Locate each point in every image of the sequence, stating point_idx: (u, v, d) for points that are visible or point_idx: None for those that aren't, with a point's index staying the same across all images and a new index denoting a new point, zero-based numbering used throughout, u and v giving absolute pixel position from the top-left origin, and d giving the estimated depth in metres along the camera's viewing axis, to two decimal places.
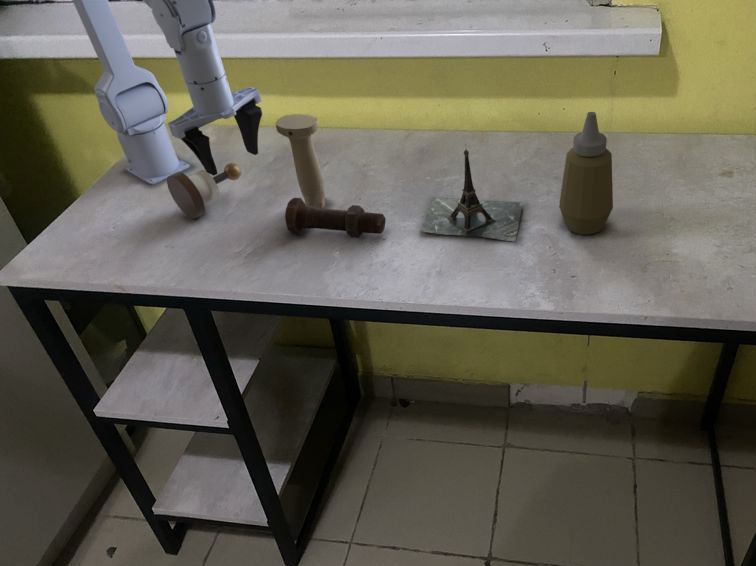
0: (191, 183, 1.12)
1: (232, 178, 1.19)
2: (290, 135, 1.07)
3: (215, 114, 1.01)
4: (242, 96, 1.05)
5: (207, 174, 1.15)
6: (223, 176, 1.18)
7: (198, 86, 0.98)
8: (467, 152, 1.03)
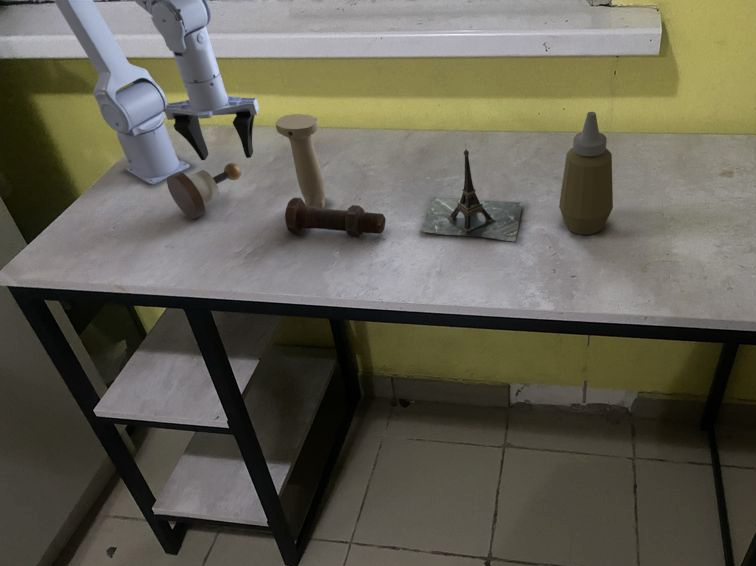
0: (191, 183, 1.12)
1: (232, 178, 1.19)
2: (290, 135, 1.07)
3: (195, 111, 1.10)
4: (237, 104, 1.11)
5: (207, 174, 1.15)
6: (223, 176, 1.18)
7: (183, 82, 1.08)
8: (467, 152, 1.03)
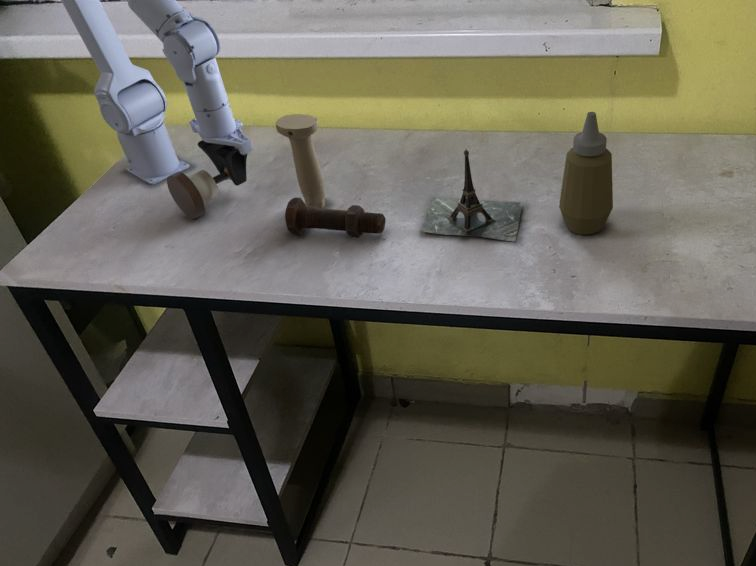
0: (191, 183, 1.12)
1: None
2: (290, 135, 1.07)
3: (238, 126, 1.15)
4: None
5: (207, 174, 1.15)
6: (223, 176, 1.18)
7: (227, 104, 1.12)
8: (467, 152, 1.03)
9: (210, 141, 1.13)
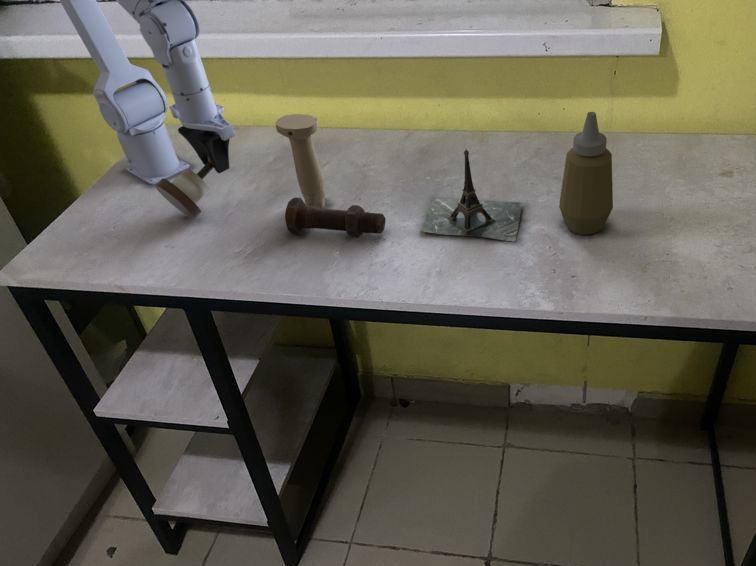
0: (178, 190, 1.11)
1: None
2: (290, 135, 1.07)
3: (219, 111, 1.12)
4: None
5: (191, 173, 1.13)
6: (208, 167, 1.16)
7: (208, 88, 1.08)
8: (467, 152, 1.03)
9: (190, 126, 1.09)
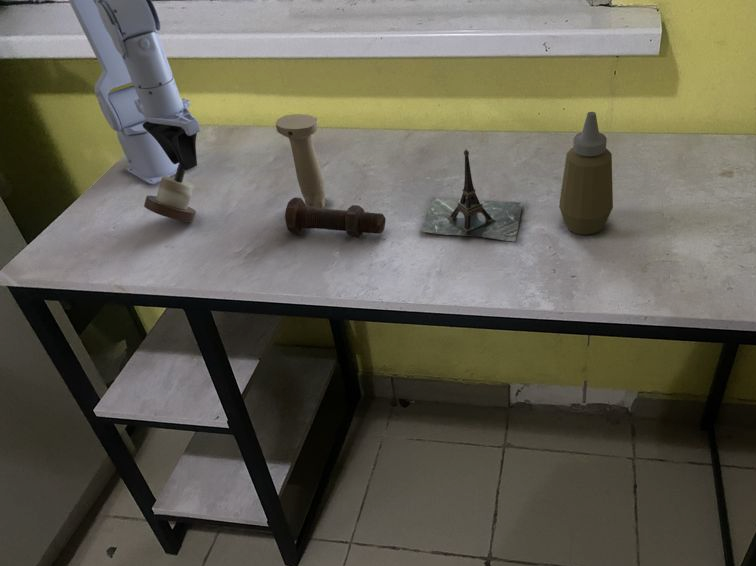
0: (163, 207, 1.10)
1: None
2: (290, 135, 1.07)
3: (185, 105, 1.07)
4: None
5: (168, 182, 1.11)
6: None
7: (172, 81, 1.03)
8: (467, 152, 1.03)
9: (154, 121, 1.05)
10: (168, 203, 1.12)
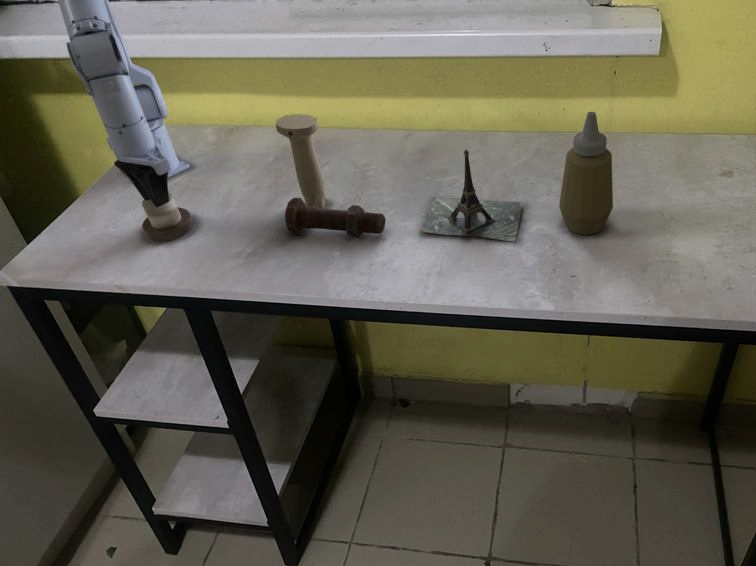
0: (159, 235, 1.12)
1: None
2: (290, 135, 1.07)
3: (157, 144, 1.06)
4: None
5: (149, 210, 1.10)
6: None
7: (143, 120, 1.02)
8: (467, 152, 1.03)
9: (124, 160, 1.04)
10: (162, 227, 1.12)
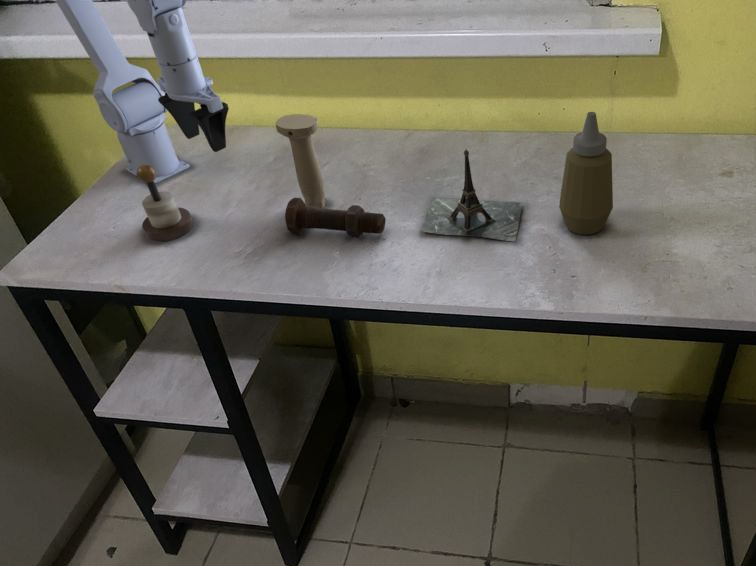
0: (159, 234, 1.12)
1: (155, 178, 1.09)
2: (290, 135, 1.07)
3: (208, 83, 1.09)
4: None
5: (149, 209, 1.10)
6: (151, 187, 1.10)
7: (195, 58, 1.05)
8: (467, 152, 1.03)
9: (177, 98, 1.06)
10: (162, 226, 1.12)
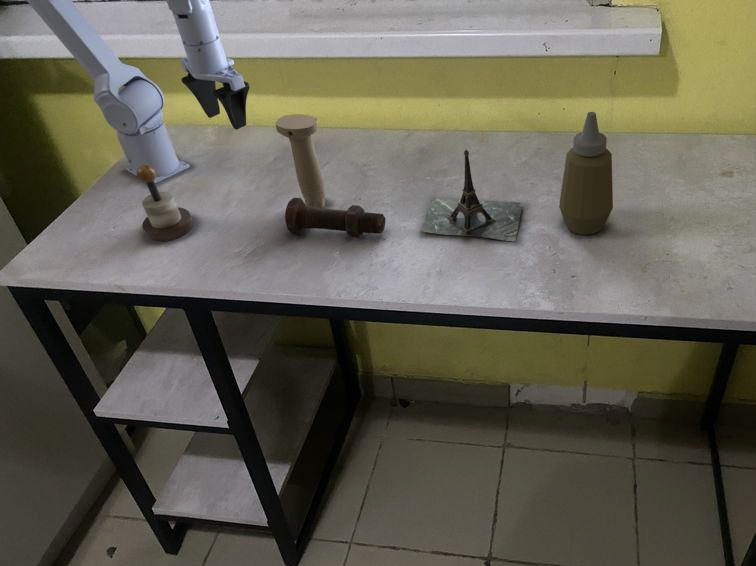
0: (159, 234, 1.12)
1: (155, 178, 1.09)
2: (290, 135, 1.07)
3: (229, 63, 1.14)
4: None
5: (149, 209, 1.10)
6: (151, 187, 1.10)
7: (218, 39, 1.10)
8: (467, 152, 1.03)
9: (201, 77, 1.12)
10: (162, 226, 1.12)
